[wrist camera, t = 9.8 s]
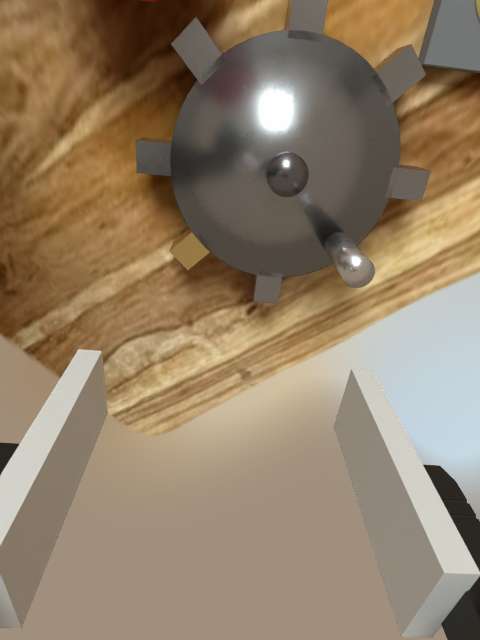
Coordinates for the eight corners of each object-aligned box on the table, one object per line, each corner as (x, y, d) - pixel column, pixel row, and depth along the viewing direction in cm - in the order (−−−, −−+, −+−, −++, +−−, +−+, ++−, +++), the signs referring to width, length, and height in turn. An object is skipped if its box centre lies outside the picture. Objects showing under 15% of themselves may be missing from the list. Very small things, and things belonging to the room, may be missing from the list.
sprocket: (257, 331, 31) (264, 386, 25) (84, 147, 24) (34, 161, 18) (465, 186, 26) (537, 211, 20) (319, -106, 19) (362, -206, 13)
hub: (231, 205, 27) (231, 222, 23) (240, 110, 24) (242, 111, 20) (313, 213, 28) (327, 231, 24) (332, 120, 25) (351, 124, 21)
